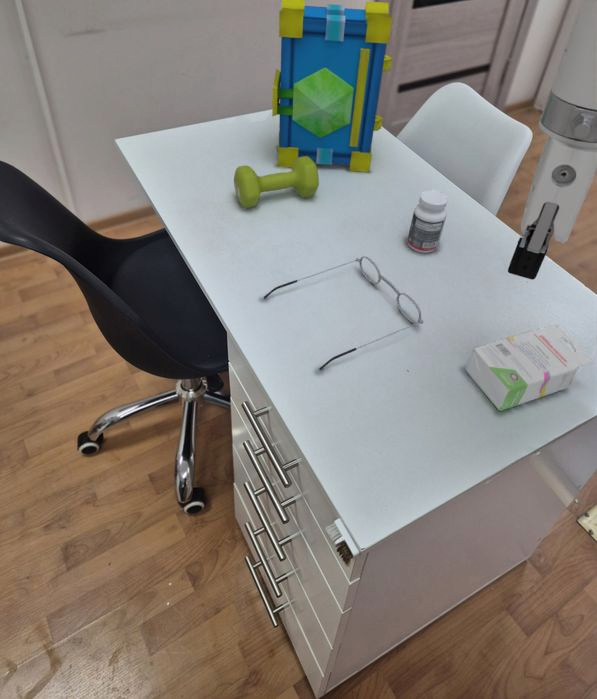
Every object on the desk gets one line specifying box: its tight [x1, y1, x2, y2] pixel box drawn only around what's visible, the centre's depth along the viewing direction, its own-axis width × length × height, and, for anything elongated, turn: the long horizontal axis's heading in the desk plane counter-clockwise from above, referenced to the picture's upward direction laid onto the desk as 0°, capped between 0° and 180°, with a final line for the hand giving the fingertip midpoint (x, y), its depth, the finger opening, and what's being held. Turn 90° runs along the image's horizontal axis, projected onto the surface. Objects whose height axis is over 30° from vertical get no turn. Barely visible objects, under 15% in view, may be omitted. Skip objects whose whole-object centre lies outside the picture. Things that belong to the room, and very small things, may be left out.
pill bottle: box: [407, 189, 448, 254], centre depth 98 cm, size 6×6×10 cm
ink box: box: [465, 324, 595, 412], centre depth 77 cm, size 9×5×15 cm
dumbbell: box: [233, 156, 320, 209], centre depth 108 cm, size 16×8×7 cm, turn 112°
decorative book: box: [271, 0, 393, 173], centre depth 112 cm, size 14×23×30 cm, turn 88°
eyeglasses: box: [263, 255, 424, 371], centre depth 86 cm, size 18×19×4 cm
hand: (521, 272), depth 64 cm, fingers closed
